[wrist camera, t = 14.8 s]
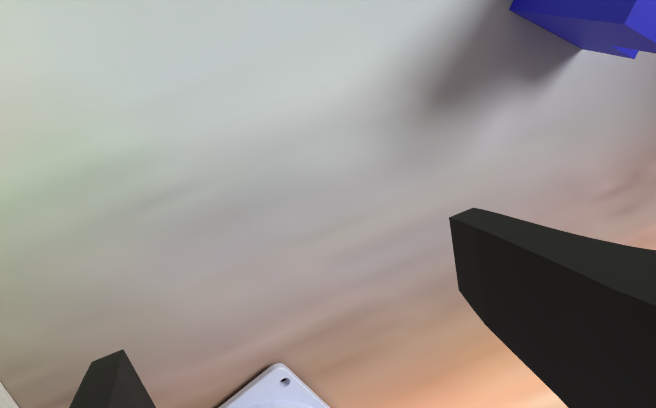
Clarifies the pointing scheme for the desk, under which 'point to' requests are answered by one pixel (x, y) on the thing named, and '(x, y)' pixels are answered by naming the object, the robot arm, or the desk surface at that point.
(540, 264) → the robot arm
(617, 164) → the desk surface
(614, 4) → the cable clip
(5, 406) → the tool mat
